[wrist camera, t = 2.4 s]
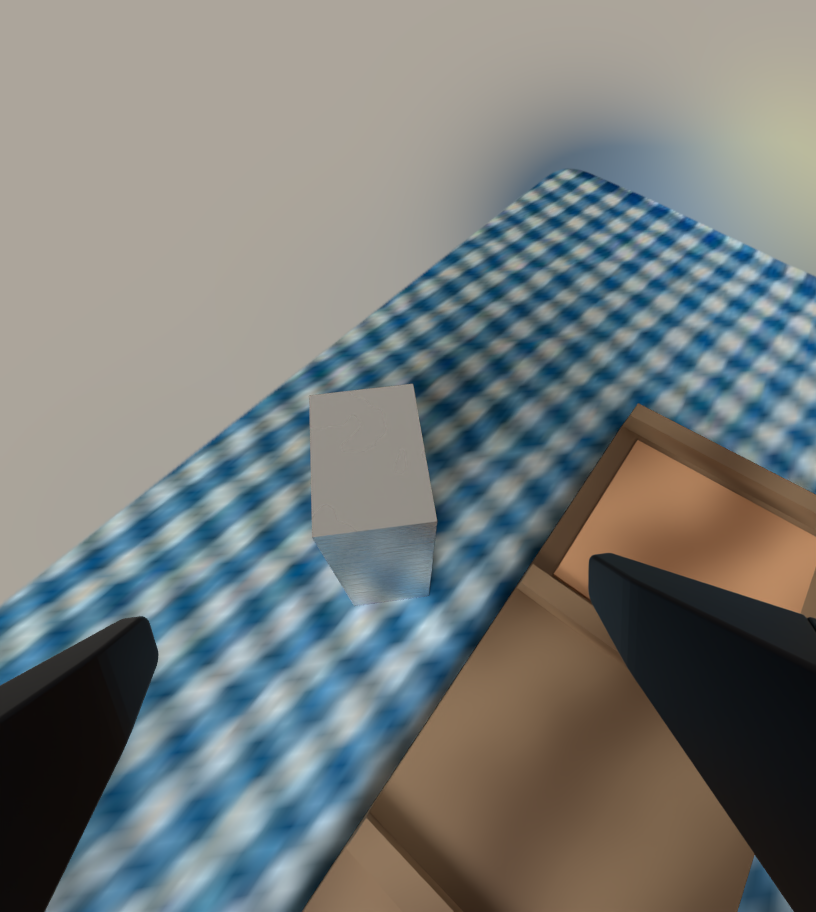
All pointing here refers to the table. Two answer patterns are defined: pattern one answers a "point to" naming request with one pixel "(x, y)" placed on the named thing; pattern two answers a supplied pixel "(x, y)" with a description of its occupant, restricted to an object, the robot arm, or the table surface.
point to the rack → (583, 712)
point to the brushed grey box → (372, 493)
